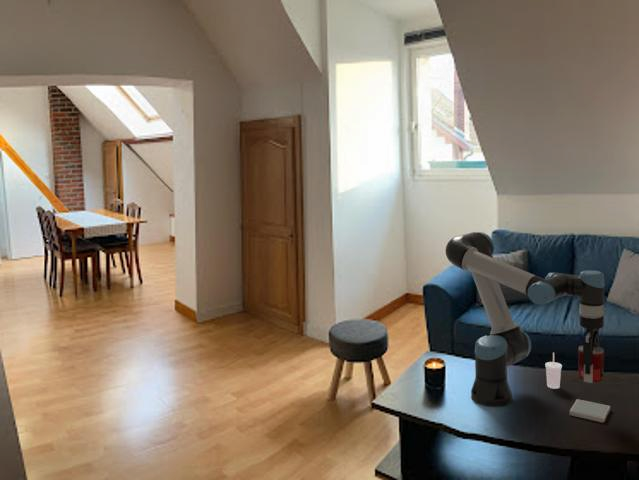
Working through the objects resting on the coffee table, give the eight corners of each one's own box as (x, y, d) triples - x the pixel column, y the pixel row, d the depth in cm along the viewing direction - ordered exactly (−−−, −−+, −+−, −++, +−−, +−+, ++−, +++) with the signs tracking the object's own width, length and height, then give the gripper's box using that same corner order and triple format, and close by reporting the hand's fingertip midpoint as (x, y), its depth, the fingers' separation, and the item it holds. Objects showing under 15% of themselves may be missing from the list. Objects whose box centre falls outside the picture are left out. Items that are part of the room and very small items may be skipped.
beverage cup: (542, 383, 220) (543, 350, 217) (558, 382, 219) (558, 349, 217) (547, 389, 214) (548, 355, 211) (564, 389, 213) (564, 355, 211)
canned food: (606, 383, 187) (607, 352, 186) (581, 382, 189) (581, 352, 187) (599, 374, 195) (600, 344, 193) (575, 373, 196) (576, 344, 195)
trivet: (569, 415, 193) (569, 410, 193) (576, 402, 201) (576, 398, 201) (603, 422, 186) (603, 418, 186) (610, 409, 195) (610, 405, 194)
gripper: (597, 325, 178) (596, 390, 181) (609, 309, 194) (608, 369, 197) (572, 322, 183) (572, 386, 186) (586, 306, 199) (585, 365, 202)
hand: (590, 377), depth 192 cm, fingers closed on canned food, 8 cm apart
